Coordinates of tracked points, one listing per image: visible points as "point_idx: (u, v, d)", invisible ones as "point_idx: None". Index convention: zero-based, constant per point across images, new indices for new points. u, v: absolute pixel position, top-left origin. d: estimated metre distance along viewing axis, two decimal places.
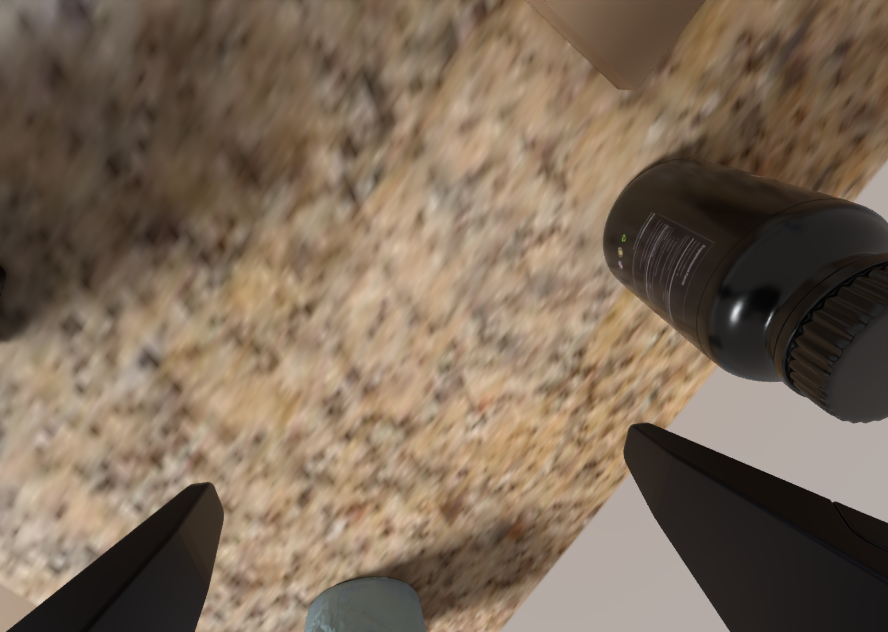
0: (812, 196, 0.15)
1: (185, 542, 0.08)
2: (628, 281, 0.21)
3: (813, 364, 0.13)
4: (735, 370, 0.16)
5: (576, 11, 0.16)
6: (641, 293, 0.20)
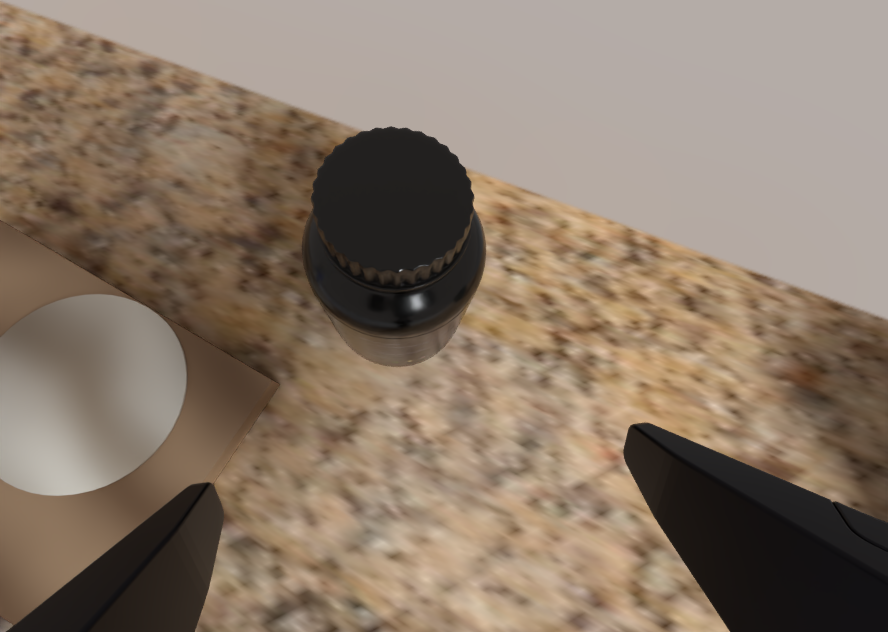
0: None
1: (185, 542, 0.08)
2: (435, 349, 0.21)
3: (409, 276, 0.13)
4: (468, 288, 0.16)
5: (212, 450, 0.21)
6: (439, 343, 0.20)
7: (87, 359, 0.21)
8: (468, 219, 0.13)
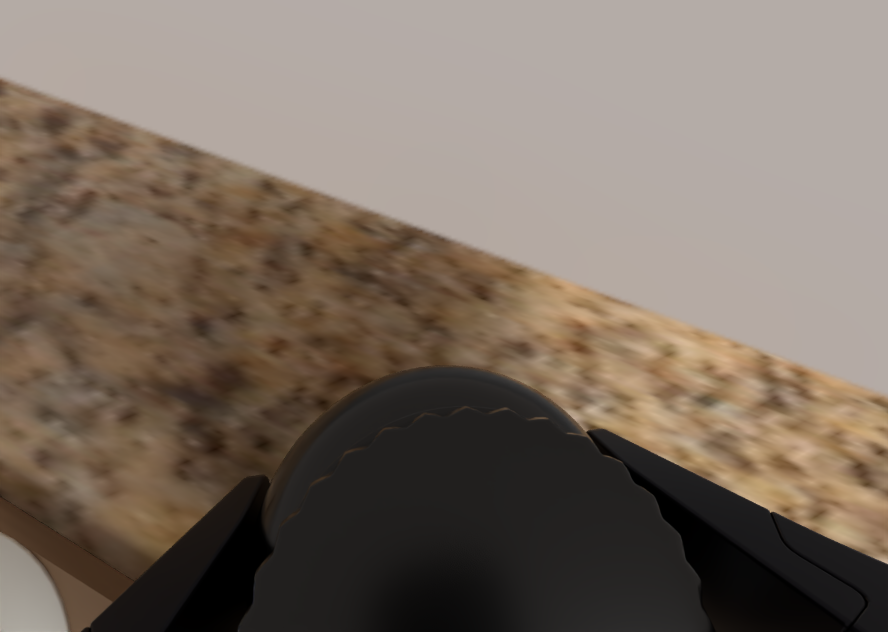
0: None
1: (249, 532, 0.08)
2: None
3: None
4: None
5: None
6: None
7: None
8: None
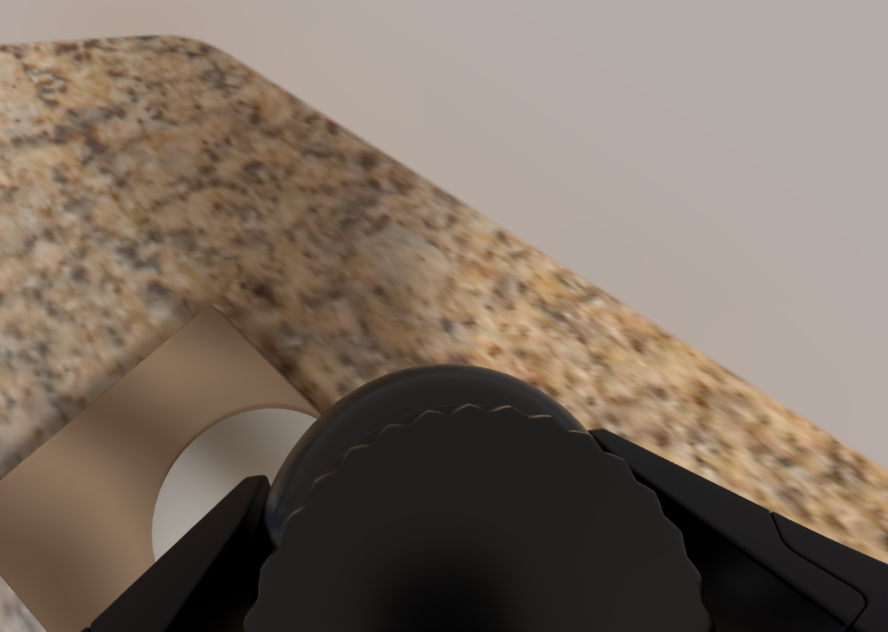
0: None
1: (249, 532, 0.08)
2: None
3: None
4: None
5: None
6: None
7: (273, 480, 0.20)
8: None
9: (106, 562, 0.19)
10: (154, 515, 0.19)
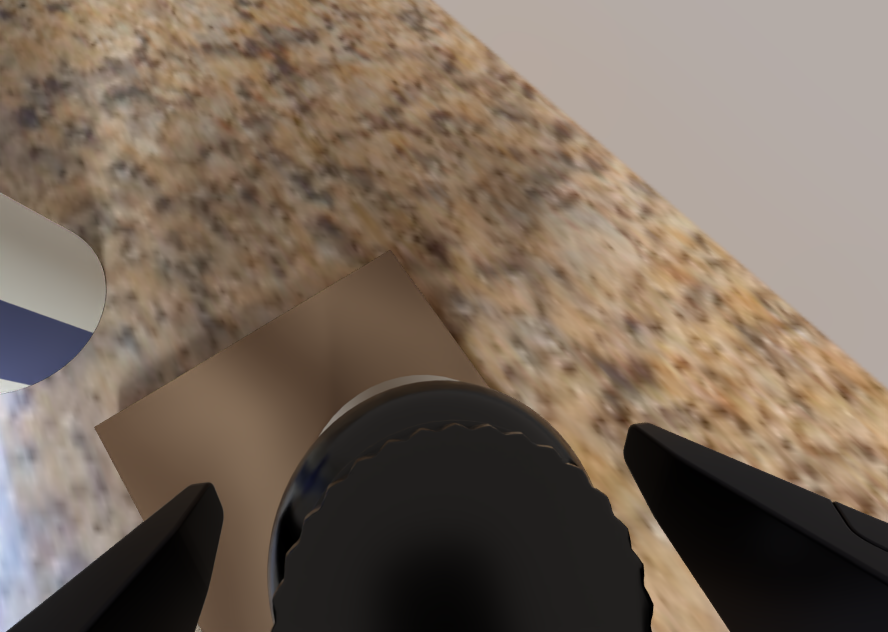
0: None
1: (185, 542, 0.08)
2: None
3: None
4: None
5: None
6: None
7: None
8: None
9: (246, 511, 0.16)
10: None
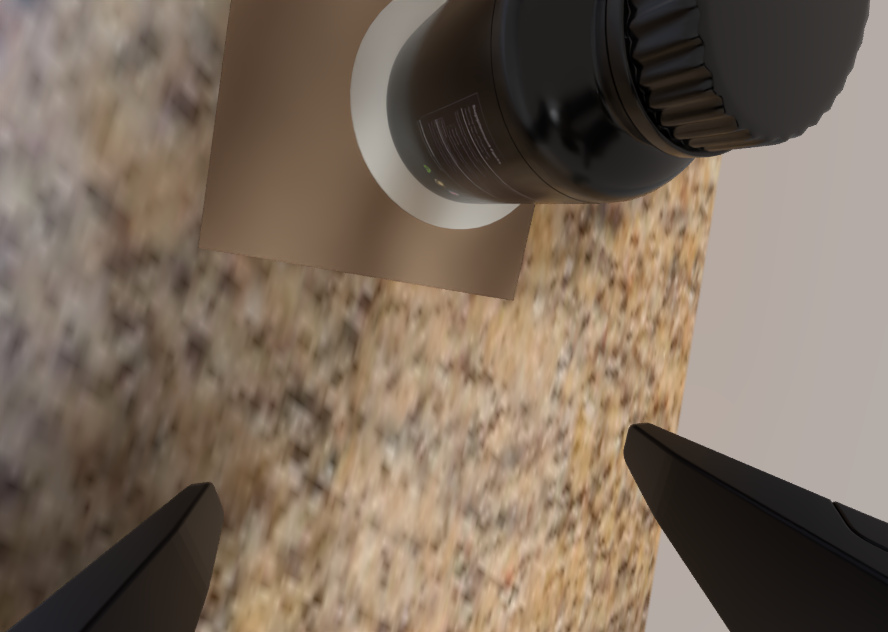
0: None
1: (185, 542, 0.08)
2: (476, 200, 0.16)
3: (695, 113, 0.08)
4: (641, 191, 0.11)
5: (442, 278, 0.19)
6: (495, 201, 0.15)
7: None
8: (806, 128, 0.08)
9: None
10: None
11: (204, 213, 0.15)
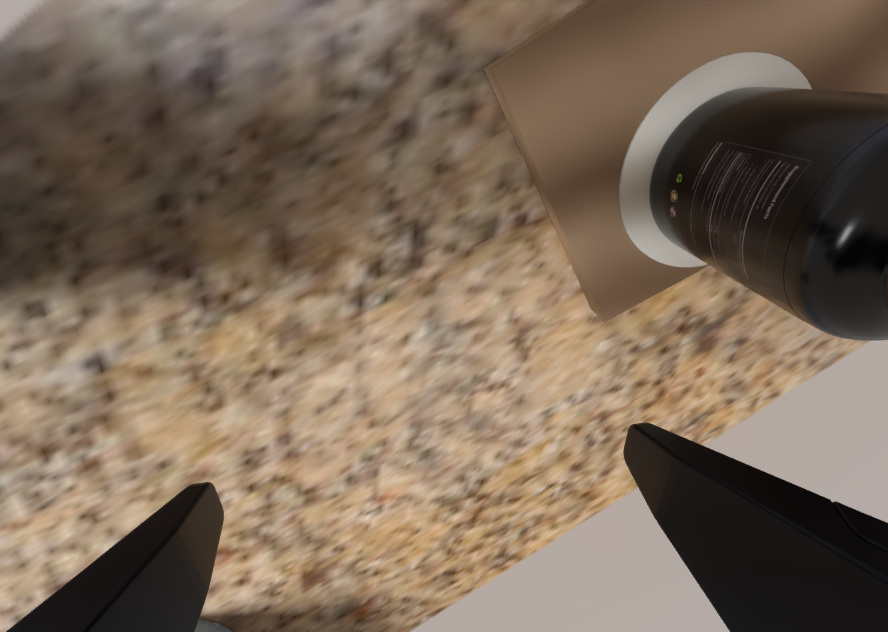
0: None
1: (185, 542, 0.08)
2: (682, 231, 0.18)
3: None
4: (832, 323, 0.13)
5: (586, 258, 0.21)
6: (700, 242, 0.17)
7: None
8: None
9: None
10: (780, 58, 0.18)
11: (521, 52, 0.17)
